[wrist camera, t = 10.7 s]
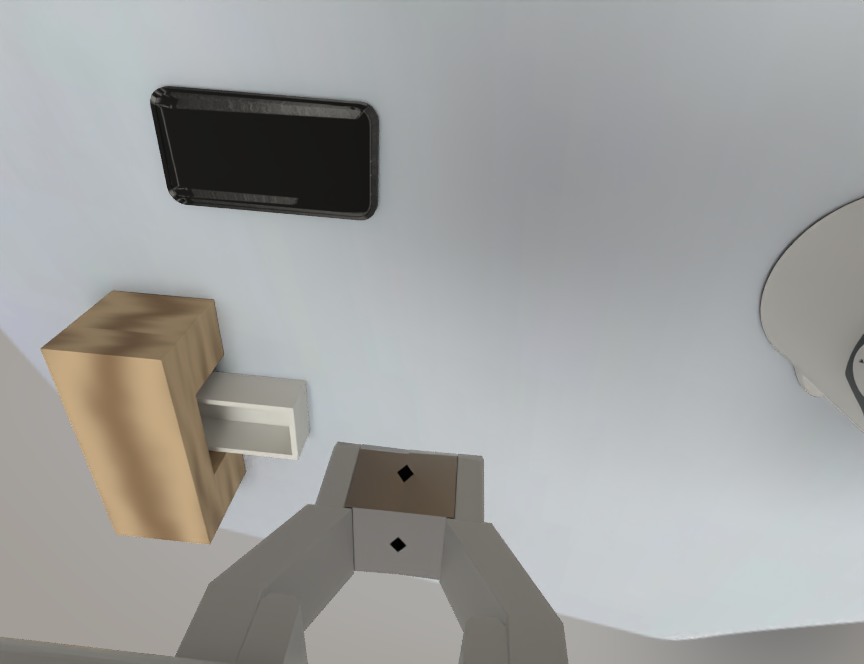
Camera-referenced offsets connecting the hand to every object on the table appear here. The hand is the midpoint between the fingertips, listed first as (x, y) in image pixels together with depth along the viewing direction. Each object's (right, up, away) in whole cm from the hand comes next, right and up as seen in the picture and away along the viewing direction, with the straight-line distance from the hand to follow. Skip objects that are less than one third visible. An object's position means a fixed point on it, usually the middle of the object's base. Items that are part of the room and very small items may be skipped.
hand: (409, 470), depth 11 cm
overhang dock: (-22, -3, +38) cm, 44 cm away
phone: (-11, +15, +27) cm, 32 cm away
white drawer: (-18, -3, +39) cm, 43 cm away
